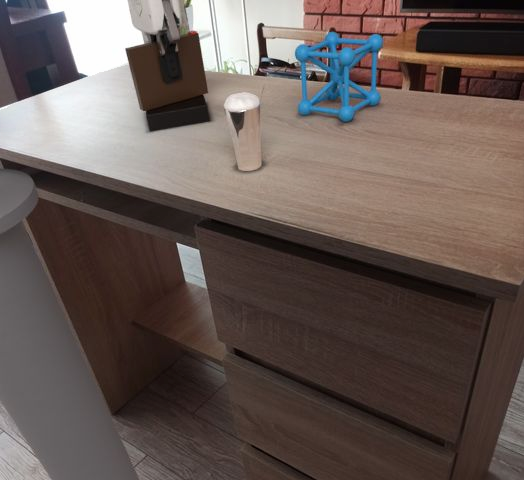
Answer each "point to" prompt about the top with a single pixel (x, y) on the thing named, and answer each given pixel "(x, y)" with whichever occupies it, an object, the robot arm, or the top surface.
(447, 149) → the top surface
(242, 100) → the milkshake
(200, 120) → the frame stand
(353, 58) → the molecular structure
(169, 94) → the frame
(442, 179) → the top surface
